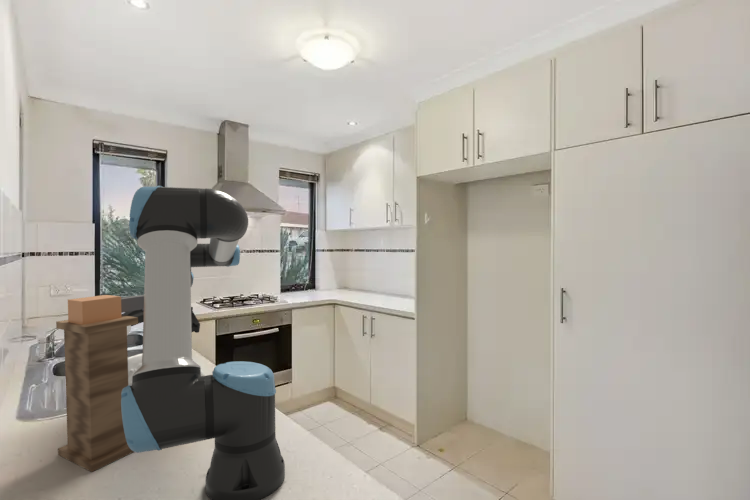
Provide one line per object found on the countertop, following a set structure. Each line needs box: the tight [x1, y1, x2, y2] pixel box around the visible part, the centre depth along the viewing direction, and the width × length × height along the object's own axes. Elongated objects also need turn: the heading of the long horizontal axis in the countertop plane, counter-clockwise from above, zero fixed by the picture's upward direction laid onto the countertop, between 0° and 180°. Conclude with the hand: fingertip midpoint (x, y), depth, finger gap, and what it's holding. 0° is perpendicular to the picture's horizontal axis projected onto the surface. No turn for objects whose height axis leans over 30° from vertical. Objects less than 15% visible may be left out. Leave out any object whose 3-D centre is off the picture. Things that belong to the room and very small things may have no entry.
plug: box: [67, 294, 144, 325], centre depth 94 cm, size 6×19×5 cm, turn 152°
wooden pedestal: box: [55, 315, 139, 473], centre depth 90 cm, size 14×11×30 cm
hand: (151, 342), depth 99 cm, fingers open, 13 cm apart
